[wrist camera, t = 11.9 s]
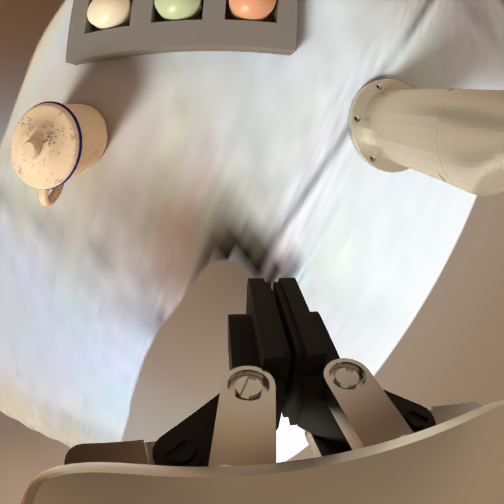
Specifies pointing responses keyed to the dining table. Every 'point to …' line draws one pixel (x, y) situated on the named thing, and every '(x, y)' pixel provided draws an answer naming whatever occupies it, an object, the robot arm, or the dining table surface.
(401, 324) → the dining table surface
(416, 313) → the dining table surface
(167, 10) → the sage button
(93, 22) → the cream button
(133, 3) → the button panel
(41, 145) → the teacup with lid
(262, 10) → the terracotta button
